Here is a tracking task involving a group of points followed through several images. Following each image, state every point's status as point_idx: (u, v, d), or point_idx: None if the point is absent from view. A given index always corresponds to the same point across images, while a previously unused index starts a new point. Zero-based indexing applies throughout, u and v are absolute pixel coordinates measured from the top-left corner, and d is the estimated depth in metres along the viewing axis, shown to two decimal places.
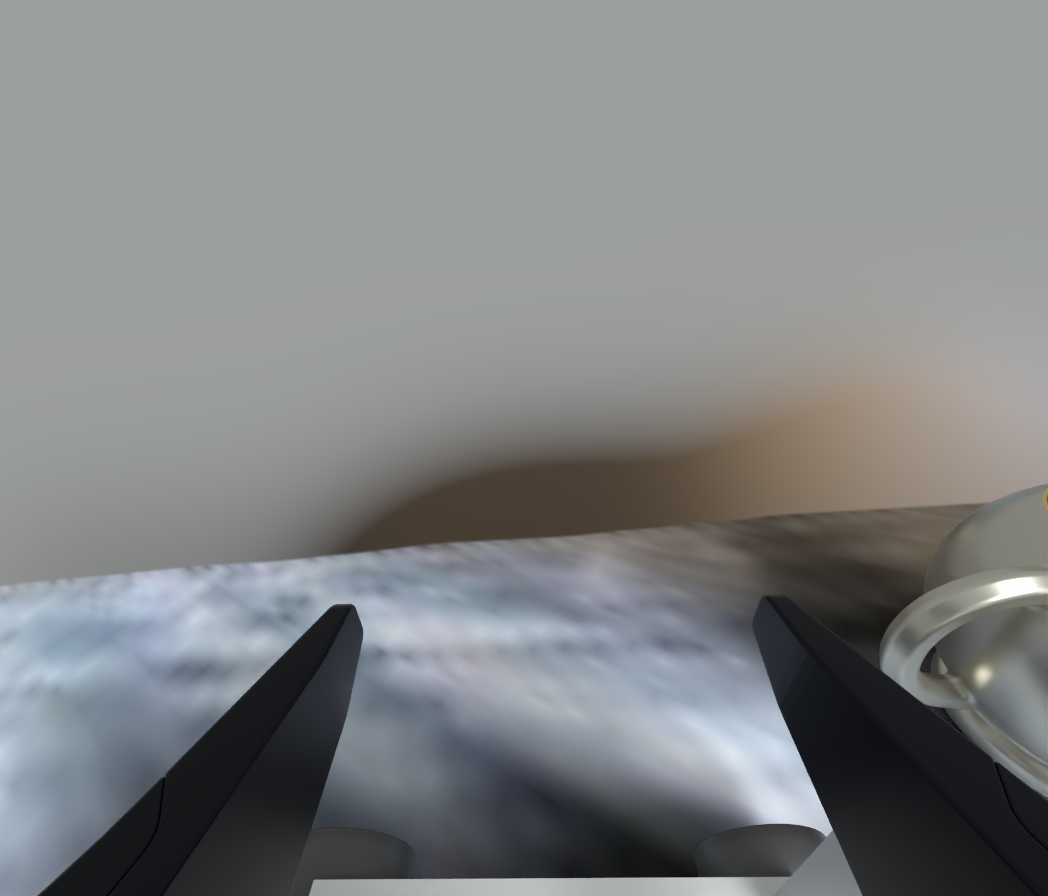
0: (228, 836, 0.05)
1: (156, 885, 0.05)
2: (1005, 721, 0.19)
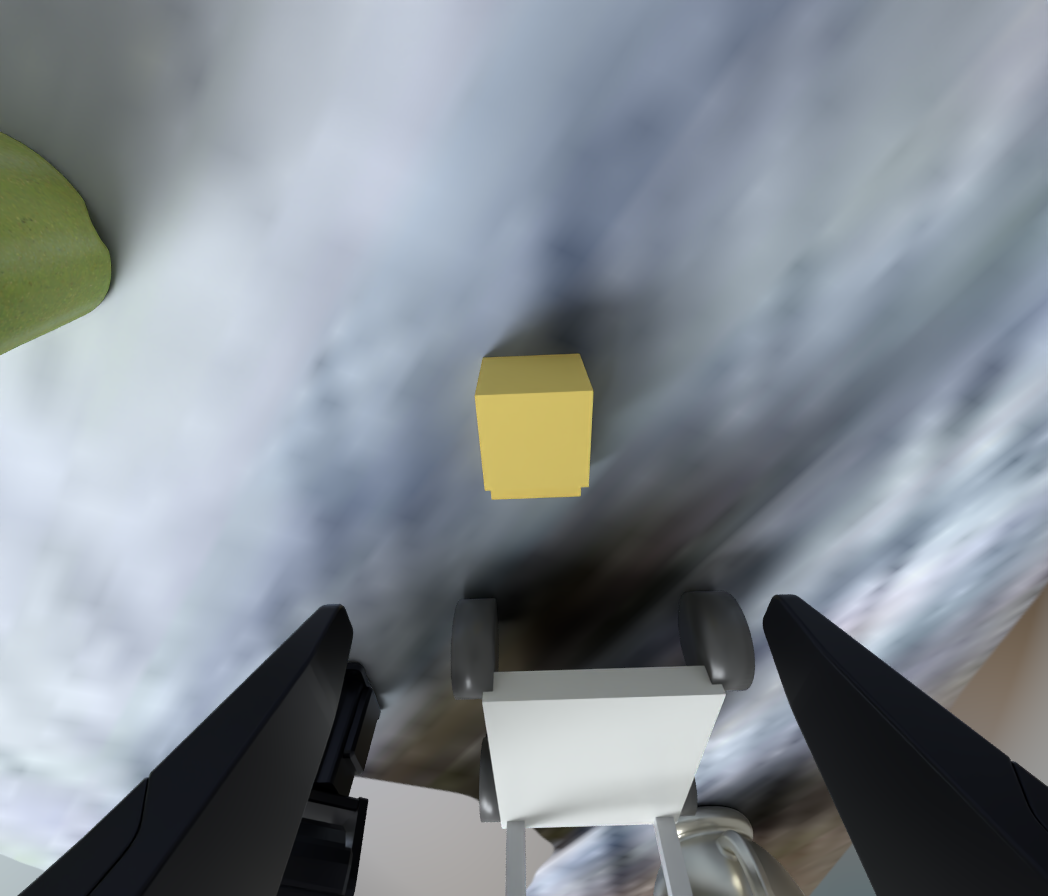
0: (211, 836, 0.05)
1: (136, 885, 0.05)
2: (711, 860, 0.36)
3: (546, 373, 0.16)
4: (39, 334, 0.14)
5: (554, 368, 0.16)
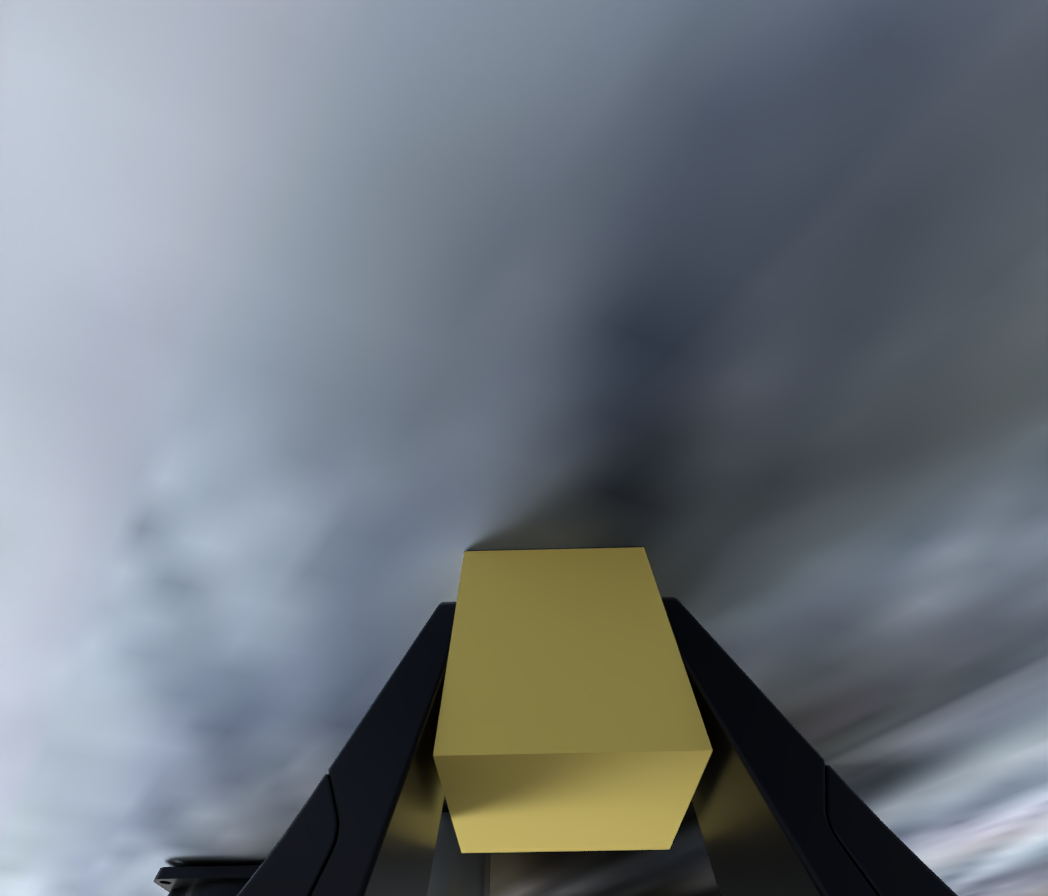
0: (399, 833, 0.05)
1: (357, 882, 0.05)
2: None
3: (591, 640, 0.08)
4: None
5: (605, 618, 0.08)
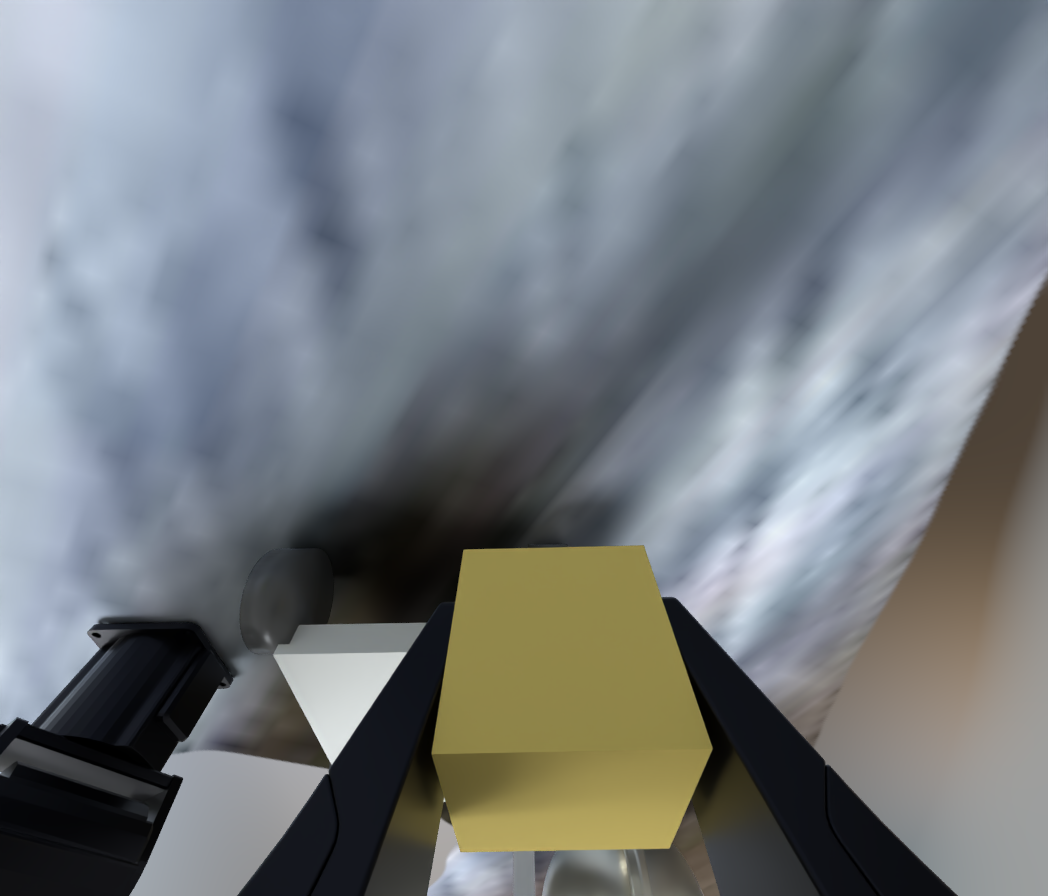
0: (399, 833, 0.05)
1: (357, 882, 0.05)
2: None
3: (591, 638, 0.08)
4: None
5: (605, 616, 0.08)
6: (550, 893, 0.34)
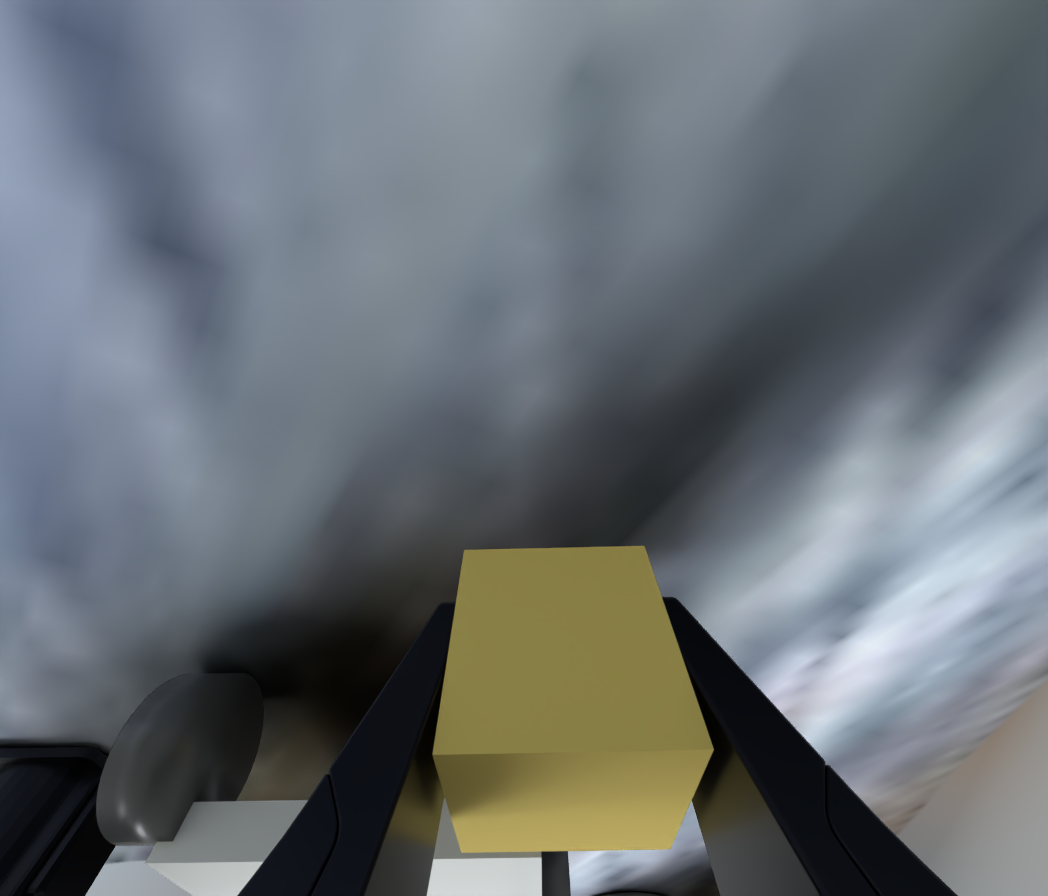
0: (399, 833, 0.05)
1: (357, 881, 0.05)
2: None
3: (592, 639, 0.08)
4: None
5: (605, 617, 0.08)
6: None
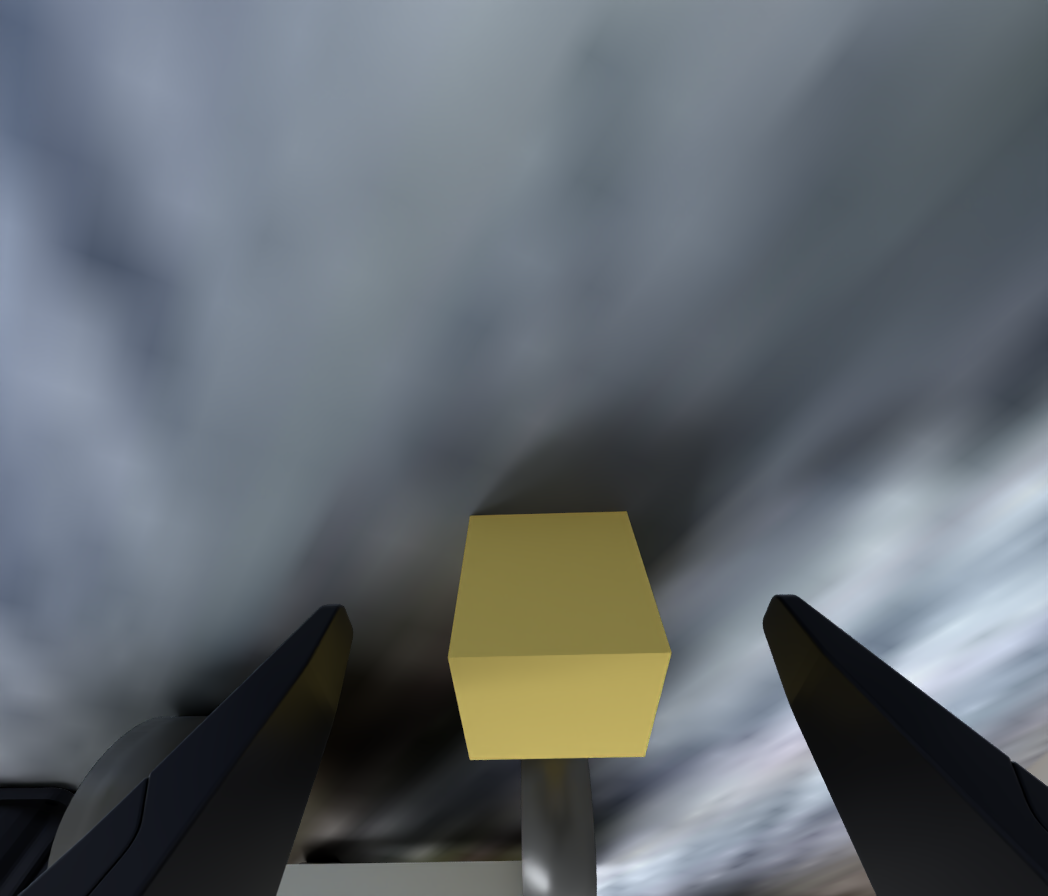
0: (211, 836, 0.05)
1: (136, 885, 0.05)
2: None
3: (577, 577, 0.09)
4: None
5: (590, 561, 0.09)
6: None
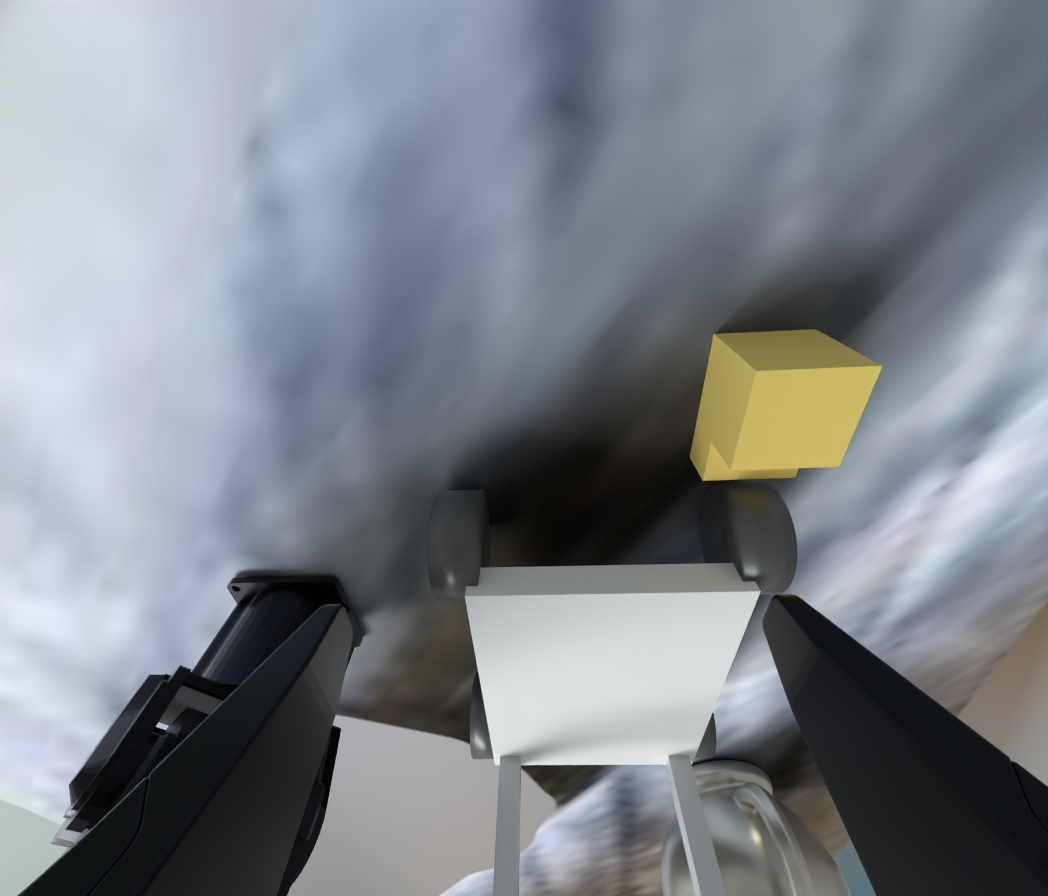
0: (211, 836, 0.05)
1: (136, 885, 0.05)
2: (727, 814, 0.33)
3: (806, 349, 0.15)
4: None
5: (808, 344, 0.16)
6: (676, 864, 0.33)
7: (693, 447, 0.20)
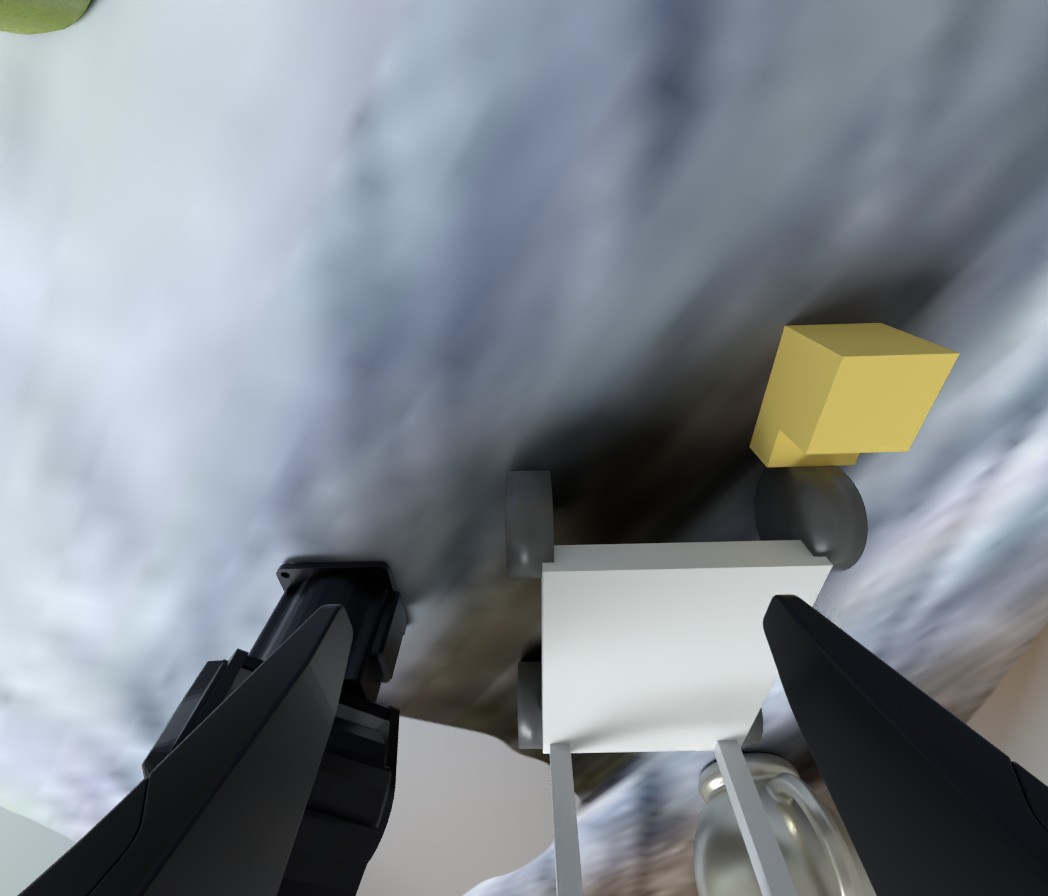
0: (211, 836, 0.05)
1: (136, 885, 0.05)
2: None
3: (879, 338, 0.16)
4: (2, 0, 0.11)
5: (880, 334, 0.17)
6: (712, 856, 0.33)
7: (753, 436, 0.21)
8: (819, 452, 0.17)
